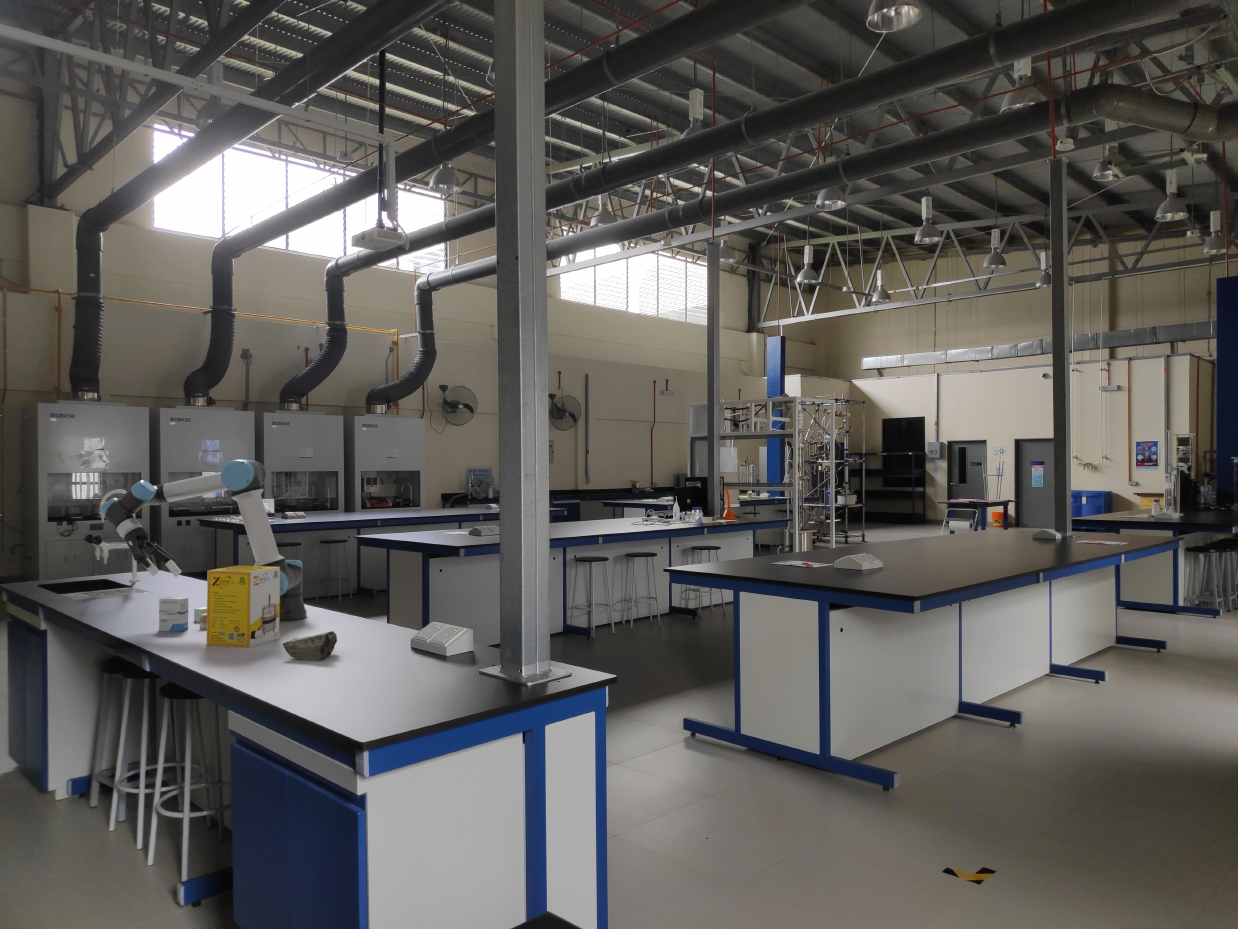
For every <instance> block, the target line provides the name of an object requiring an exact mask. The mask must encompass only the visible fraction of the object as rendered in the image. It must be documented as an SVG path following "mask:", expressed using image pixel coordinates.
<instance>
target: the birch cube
mask: <svg viewBox="0 0 1238 929" xmlns="http://www.w3.org/2000/svg"><path fill="white" fill-rule="evenodd" d="M199 629H206V630H207V613H205V614H202V615H200V622H199Z"/></svg>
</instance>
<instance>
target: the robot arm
mask: <svg viewBox="0 0 1238 929" xmlns="http://www.w3.org/2000/svg"><path fill="white" fill-rule="evenodd" d="M267 475H268V474H267V469H266V467H265V466H264V465H263V464H262V463H260V462H259V461H257V460H253V459H242V458H241V459H240V458H239V459H234V460H231V461H229V462H227V463H226V464H225V465H224V466H223V468H222V469H221V471H220V472H215V473H210V474H205V475H200V476H196V477H191V478H186V479H181V480H176V481H171V482H168V483H167V482H166V483H161V484H156V485H153V484H151V483H150V482H148V481H146V480H139V481H137V482H136V483H135V484H133V485H132V486H131V487H130V488H129V489H128V490H127V491H126V492H125V493H124V494H123V495H122V496H121V497H120V498H117V497H114V498H111V499H108V500H107V501H105V502H104V503H103V504H102V505H101V507H100V512H101V514H102V515H103V516H104V518H105V520H106V521H108V522H109V523H110V525H111V526H112V527H113V528H114V530H115V531H116V532H117V533H118V536H119V537H121V538H122V539H123V540H124V541H125V543H126V545H127V546H128V548H129V550H130V553H131V555H132V558H133V560H134V561H135V562H136V563H137V564H138V565H142V566H143V567H144V568H145V569H146V570H147V571H148V573H149V574H150V575H151V576H152V577H155V575H157V573H159V572H160V570H159V568H158V567H157V566H156V565H155V564H154V563H153V562H152V560H151V559H150V558H149V557H147V554H148V555H150V556H154V557H155V558H156V559H158V560H159V561H161V562H162V563H165V564H164V565H165V566H166V568H168V570H169V571H170V573H171V574H172V576H174V577H175V578H177V577H178V576H179V575H180V574H181V573H182V570H181V569H180V568H179V567H178V565H177V564H176V562H174V559H175V557H174V556H172V555H171V554H170V553H169V552H167V551H166V550H165V549H163V548H162V547H161V546H160V545H159V544H158V543H157V542H156V541H155V540H154V541H150V540H148V539H149V533H148V531H146V529H145V528H144V527H143V526H142V524H141V523H140V522H139V520H137V518H136V517H135V516H134V515H135V514H136V513H137V512H138V511H139V510H141V508H143V507H145V506H146V507H147V506H149V507H150V506H161V505H165V504H166V503H168V504H169V503H172V502H175V501H180V500H185V499H190V498H191V499H192V498H196V497H199V496H206V495H210V494H211V495H212V494H214V493H215V494H216V493H220V492H225V491H228V492H229V494H230V498H231V499H232V500H234V501H236V502H237V505H238V508H239V512H240V515H241V518H242V521H243V524H244V528H245V531H246V534H247V538H248V541H249V545H250V547H251V551H252V554H253V557H254V560H255V563H254V564H253V566H268V567H280V614H279V622H283V621H287V622H288V621H296V620H301V619H305V618H307V615H308V613H307V609H306V607H305V603H304V599H303V573H304V572H303V570H304V568H303V562H302V561H301V560H299V559H296V560H295V559H286V558H285V556H283V555H281V554H280V553H279V550H278V549H279V548H278V546H277V544H276V543H277V542H276V539H275V536H274V534H273V530H272V526H271V524H270V521H269V516H268V514H267V511H266V508H265V504H264V501H263V498H262V494H263V492H264V487H263V486H264V483H265V482H266V479H267Z"/></svg>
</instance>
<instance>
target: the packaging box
mask: <svg viewBox="0 0 1238 929" xmlns="http://www.w3.org/2000/svg"><path fill="white" fill-rule="evenodd" d="M206 585H207V586H206V607H207V629H206V641H205V642H206V646H217V647H234V648H235V647H236V648H252V647H256V646H259V645H261V644H265V643H267V642H271V641H274V640H277V639H279V638H280V621H279V614H280V567H268V566H254V565H232V566H228V567H227V566H226V567H221V568H215V569H210V570H207V583H206Z"/></svg>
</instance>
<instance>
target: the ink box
mask: <svg viewBox="0 0 1238 929" xmlns="http://www.w3.org/2000/svg"><path fill="white" fill-rule="evenodd" d="M158 601H159V602H158V631H159V632H182V631H185V630H188V629H189V597H174V596H173V597H172V596H167V597H161V598H159V599H158Z"/></svg>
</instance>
